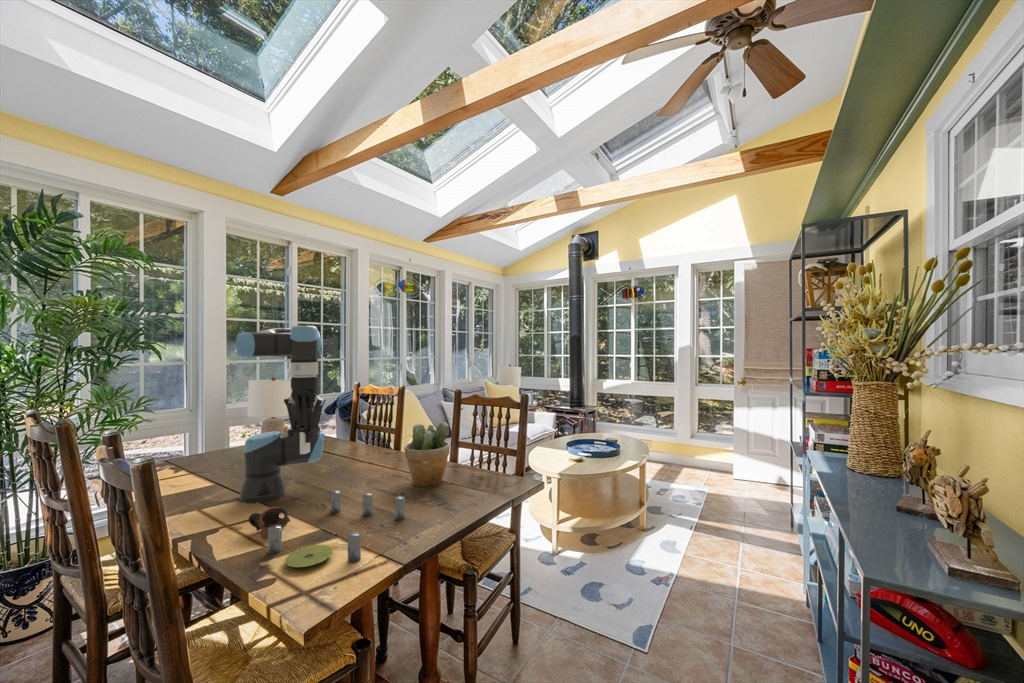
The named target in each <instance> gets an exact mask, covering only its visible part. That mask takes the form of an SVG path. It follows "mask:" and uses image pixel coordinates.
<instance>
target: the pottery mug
mask: <svg viewBox="0 0 1024 683" xmlns="http://www.w3.org/2000/svg"><path fill="white" fill-rule="evenodd" d="M281 513H283V515H284V516H283V518H282V517H280V514H281ZM289 515H290V514H289V513H288V510H287V509H285V508H284V507H280V506H273V507H269V508H267V509H265V510H263V512H259V513H258V512H254V513H251V514H250V515H249V517H248V523H249V524H250V526H253V527H254V528H255V530H256V531H257V532H259V531H260V530H261V535H260V537H261V538H262V539H264V540H268V528H269V527H270V526H273V525H281V526H282V530H284V528H285V527H286V526H287V525H288V523H290V522H291V518H290V517H289Z"/></svg>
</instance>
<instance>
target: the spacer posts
mask: <svg viewBox="0 0 1024 683" xmlns="http://www.w3.org/2000/svg"><path fill="white" fill-rule="evenodd" d="M329 495H330V496H329V499H330V500H329V502H330V504H329V505H330V506H329V507H330V508H329V511H330V512H329V513H330V514H333V515H334V514H338V513H340V512H341V502H342V501H341V498H342V497H341V490H340V489H339V490H337V489H335V490H332V491H330V492H329ZM373 498H374V494H373V492H370V491H369V492H363V494H362V517H370V516H373V515H374V499H373ZM405 518H406V496H404V495H399V496H398V495H397V496H396V497H394V520H395V521H403V520H405ZM267 528H268V527H267ZM282 530H283V529H282V526H281V525H273V526H270V527H269V528H268V537H267V540H268V542H267V544H268V545H267V547H268V548H267V549H268V550H267V551H268V552H267V553H268V555H276V554H277V555H278V554H279V553H281V552H282V550H283V548H282V546H283V543H282V542H283V540H282V534H283V532H282ZM361 537H362V535H361V532H359V531H352V532H350V533H348V534H347V563H349V564H355V563H359V562H360V561H361V559H362V555H361V554H362V546H361V544H362V543H361V542H362V541H361V540H362V539H361Z"/></svg>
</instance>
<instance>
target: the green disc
mask: <svg viewBox="0 0 1024 683" xmlns="http://www.w3.org/2000/svg"><path fill="white" fill-rule="evenodd" d="M333 553H334V551H333V549H332V547H331V546H328V545H327V544H313V545H306V546H303V547H299V548H297V549H296V550H294V551H292V552H290V553H288V555H287V556H286V557H285V559H284V564H286V565H287V566H289V567H293V568H304V567H306V568H307V567H310V566H311V567H312V566H314V565H317V564H320V563H322V562H324V561H325V560H327V559H328V558H330V557H331V556H332V554H333Z"/></svg>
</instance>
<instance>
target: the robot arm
mask: <svg viewBox="0 0 1024 683" xmlns="http://www.w3.org/2000/svg"><path fill="white" fill-rule="evenodd" d="M320 334H321V333H320V331H319V330H318V328H317V326H315V325H293V326H292V327H275V328H274V327H273V328H267V329H263V330H262V329H261V330H258V331H256V332H249V331H248V332H240V333H238V334H237V335H236V342H235V346H236V347H235V349H236V354H237V356H239V357H241V358H242V357H243V358H245V357H246V358H252V357H253V358H254V357H255V358H257V357H260V358H261V357H277V358H278V357H279V358H280V357H282V358H283V357H286V362H287V363H289V364H290V376H291V378H290V389H291V393H290V396H289V397H288V398H284V399H283V402H284V404H285V406H286V410H287V414H288V418H289V423H290V426H289V427H288V428H287V429H286V431H287V432H286V434H282V432H281V431H279V430H274V431H266V432H261V433H259V434H255V435H252V436H250V437H248V438H247V439H246V440H245V442H244V450H243V453H244V480H243V483H242V486H241V489H240V491H239V493H238V494H239V495H238V496H239V497H238V499H239V500H240V501H241V503H243V502H245V503H244V504H257V503H256V502H261V503H265V501H266V502H270V501H274V500H276V498H277V499H279V498H281V497H283V496H285V495H286V494H285V493H287V486H286V484H285V481H284V478H283V475H282V467H284V466H293V465H301V464H309V463H310V464H311V463H315V462H318V461H320V460H321V458H322V455H323V450H324V442H325V431H324V430H321V426H320V421H321V416H322V411H323V406H324V404H325V402H326V399H325V398H322V397H321V396H319V392H318V388H319V377H318V376H317V375H319V360H320V358H319V357H322V356H323V353H324V352H323V343H322V338H321V337H322V336H321V335H320ZM284 494H285V495H284ZM278 497H279V498H278ZM273 499H274V500H273ZM239 500H238V501H239ZM269 500H270V501H269ZM240 501H239V502H240Z"/></svg>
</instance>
